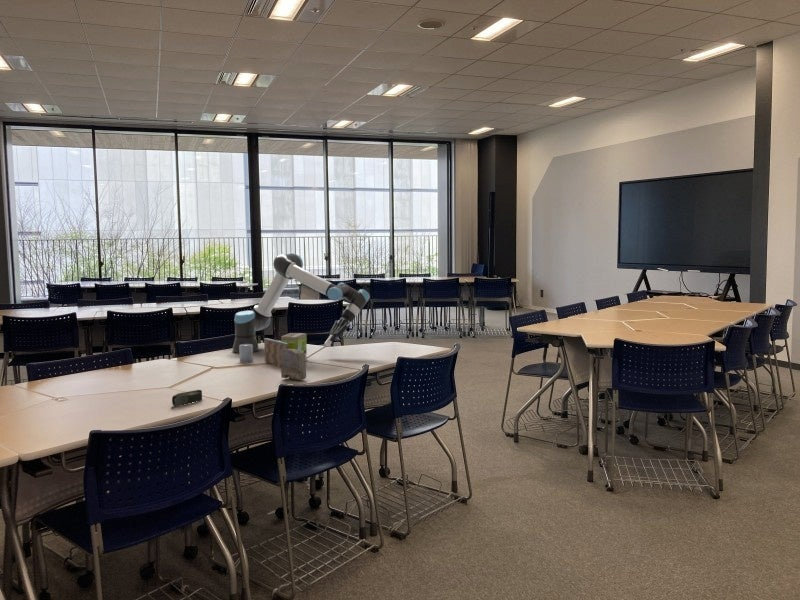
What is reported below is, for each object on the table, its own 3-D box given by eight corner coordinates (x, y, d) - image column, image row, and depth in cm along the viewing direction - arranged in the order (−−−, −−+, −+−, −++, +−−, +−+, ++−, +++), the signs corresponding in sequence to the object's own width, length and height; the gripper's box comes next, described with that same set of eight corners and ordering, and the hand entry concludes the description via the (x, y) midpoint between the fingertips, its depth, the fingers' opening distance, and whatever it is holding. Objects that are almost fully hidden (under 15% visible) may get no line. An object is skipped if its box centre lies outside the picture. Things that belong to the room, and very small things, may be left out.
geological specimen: (306, 379, 293) (306, 348, 292) (298, 382, 288) (298, 350, 286) (288, 377, 298) (287, 346, 297) (280, 380, 293) (279, 348, 291)
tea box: (298, 364, 331) (298, 336, 329) (280, 364, 332) (279, 336, 331) (307, 359, 345) (306, 332, 344) (289, 358, 347) (289, 332, 346)
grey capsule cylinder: (237, 361, 341) (237, 344, 340) (249, 359, 345) (248, 343, 344) (243, 363, 335) (242, 346, 334) (255, 361, 340) (254, 345, 339)
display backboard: (264, 361, 338) (263, 338, 337) (267, 361, 339) (266, 338, 338) (286, 368, 320) (285, 343, 319) (289, 368, 321) (288, 343, 320)
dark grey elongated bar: (198, 388, 258) (167, 395, 245) (203, 389, 256) (172, 396, 243) (198, 400, 258) (168, 407, 245) (203, 401, 256) (173, 408, 244)
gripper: (361, 318, 354) (336, 350, 345) (348, 316, 364) (324, 347, 355) (353, 309, 350) (328, 342, 341) (340, 307, 360) (315, 339, 351)
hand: (326, 345), depth 348 cm, fingers closed
